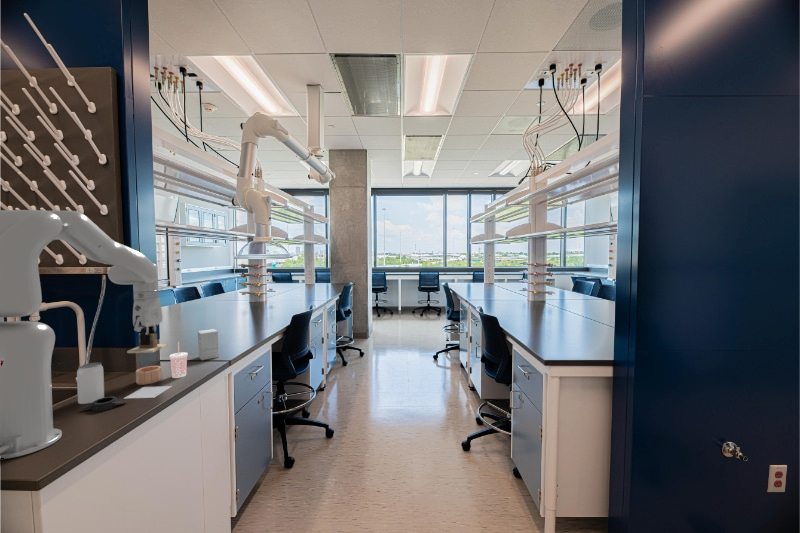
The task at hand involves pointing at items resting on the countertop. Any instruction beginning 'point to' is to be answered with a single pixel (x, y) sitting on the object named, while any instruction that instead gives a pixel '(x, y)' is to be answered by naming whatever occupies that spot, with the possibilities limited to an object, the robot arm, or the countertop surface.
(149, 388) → the mat
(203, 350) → the supplement box
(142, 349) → the lid
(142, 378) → the bowl
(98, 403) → the black winged knob
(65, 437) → the countertop surface
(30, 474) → the countertop surface
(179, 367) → the beverage cup
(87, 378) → the can
